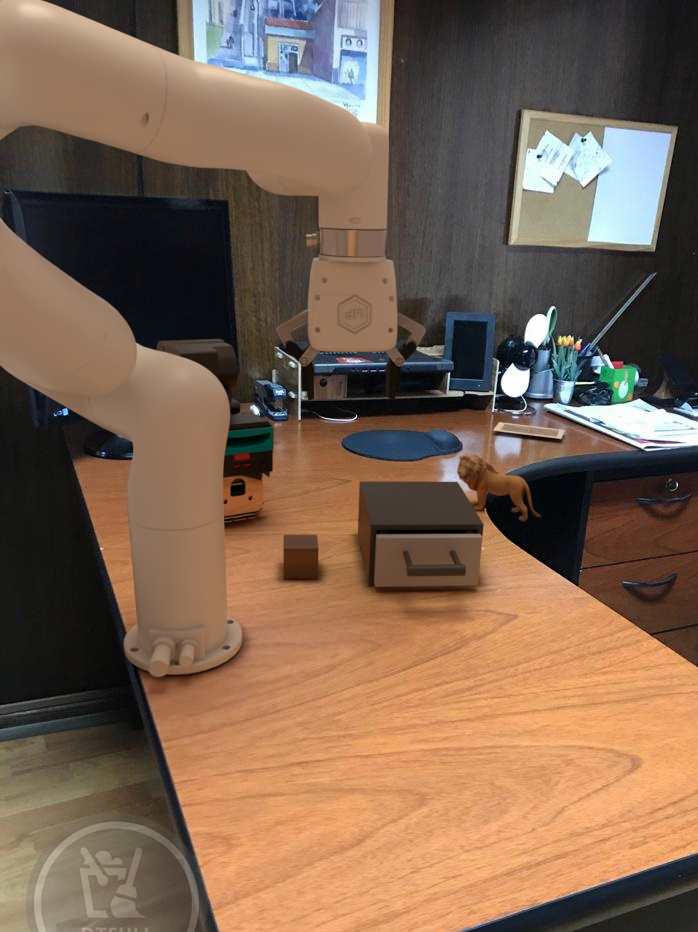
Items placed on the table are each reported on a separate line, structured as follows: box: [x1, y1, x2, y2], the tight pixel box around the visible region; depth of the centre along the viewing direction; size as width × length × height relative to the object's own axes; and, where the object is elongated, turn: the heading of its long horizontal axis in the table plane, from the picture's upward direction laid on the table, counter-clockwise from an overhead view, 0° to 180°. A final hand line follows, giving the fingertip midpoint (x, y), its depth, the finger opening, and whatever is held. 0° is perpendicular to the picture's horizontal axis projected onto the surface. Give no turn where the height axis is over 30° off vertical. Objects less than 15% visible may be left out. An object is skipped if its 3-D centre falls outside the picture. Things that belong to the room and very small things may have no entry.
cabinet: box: [357, 480, 485, 586], centre depth 107 cm, size 17×15×9 cm
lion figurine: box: [456, 453, 542, 522], centre depth 126 cm, size 15×5×9 cm, turn 66°
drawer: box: [373, 530, 483, 588], centre depth 102 cm, size 21×13×7 cm, turn 7°
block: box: [282, 534, 319, 580], centre depth 103 cm, size 4×4×4 cm
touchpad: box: [493, 421, 566, 440], centre depth 173 cm, size 8×15×2 cm, turn 72°
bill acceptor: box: [156, 338, 275, 523], centre depth 120 cm, size 10×23×25 cm, turn 33°
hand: (350, 397), depth 92 cm, fingers open, 9 cm apart
